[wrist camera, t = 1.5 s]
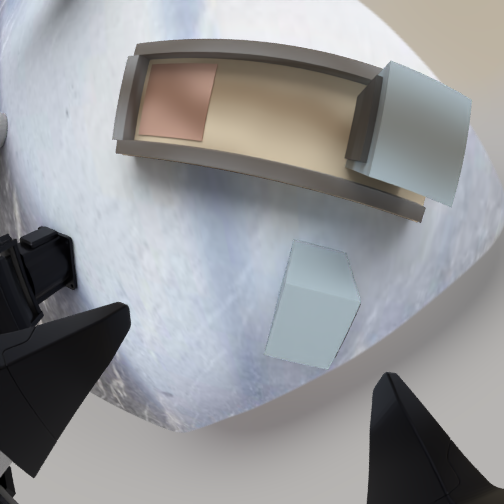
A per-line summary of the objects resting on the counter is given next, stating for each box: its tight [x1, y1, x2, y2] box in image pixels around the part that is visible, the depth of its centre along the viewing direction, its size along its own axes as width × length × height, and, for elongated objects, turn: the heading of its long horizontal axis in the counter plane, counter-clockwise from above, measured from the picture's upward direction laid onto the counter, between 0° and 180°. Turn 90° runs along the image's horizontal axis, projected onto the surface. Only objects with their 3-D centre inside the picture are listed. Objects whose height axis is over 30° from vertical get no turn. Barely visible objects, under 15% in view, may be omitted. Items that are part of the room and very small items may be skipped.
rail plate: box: [112, 39, 472, 223], centre depth 13 cm, size 9×22×8 cm, turn 79°
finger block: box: [264, 239, 361, 370], centre depth 17 cm, size 5×4×7 cm
